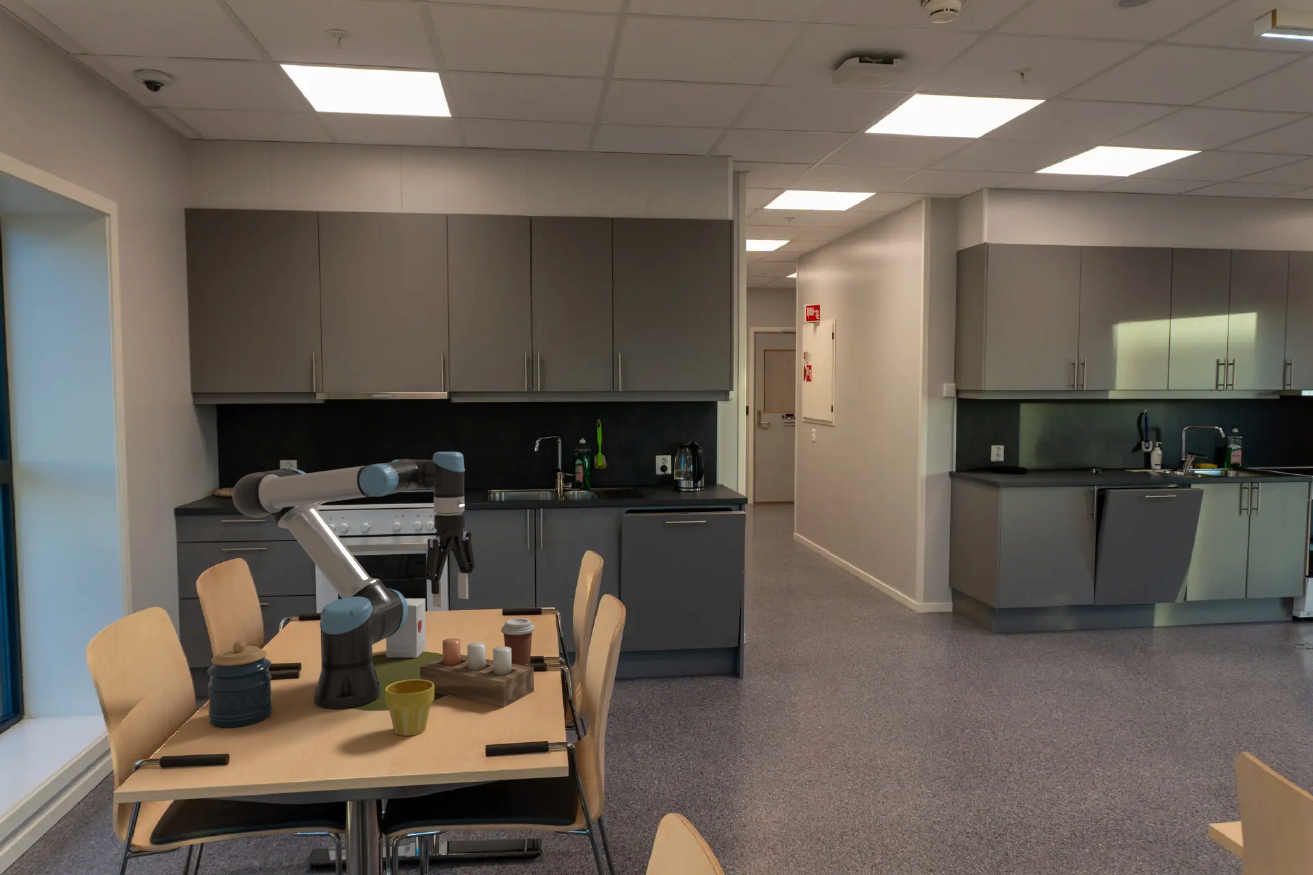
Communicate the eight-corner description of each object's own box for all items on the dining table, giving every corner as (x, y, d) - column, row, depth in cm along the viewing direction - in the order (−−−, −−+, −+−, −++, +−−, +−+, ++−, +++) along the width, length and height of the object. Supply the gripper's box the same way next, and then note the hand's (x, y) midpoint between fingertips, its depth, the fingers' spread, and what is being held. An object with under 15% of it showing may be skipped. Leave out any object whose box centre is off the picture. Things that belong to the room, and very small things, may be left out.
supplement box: (417, 658, 230) (416, 605, 229) (385, 658, 230) (384, 605, 229) (427, 648, 239) (426, 597, 238) (396, 648, 239) (395, 597, 238)
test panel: (503, 707, 192) (503, 681, 192) (420, 689, 204) (419, 666, 204) (533, 691, 203) (533, 667, 203) (452, 675, 215) (452, 652, 215)
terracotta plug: (452, 671, 204) (452, 644, 204) (439, 669, 206) (438, 641, 206) (464, 666, 208) (464, 639, 208) (451, 664, 210) (450, 637, 210)
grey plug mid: (477, 676, 200) (477, 648, 200) (463, 673, 202) (463, 646, 202) (489, 671, 204) (489, 643, 204) (475, 668, 206) (475, 641, 206)
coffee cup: (538, 659, 228) (538, 617, 227) (530, 670, 219) (529, 626, 218) (506, 658, 229) (506, 616, 228) (497, 669, 220) (496, 625, 219)
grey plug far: (504, 681, 197) (503, 652, 197) (489, 678, 199) (489, 650, 199) (515, 676, 201) (514, 647, 200) (500, 673, 203) (500, 645, 202)
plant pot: (416, 717, 186) (416, 675, 186) (444, 728, 180) (443, 684, 179) (376, 731, 178) (375, 687, 178) (403, 743, 172) (402, 698, 171)
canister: (274, 703, 195) (272, 630, 194) (270, 723, 183) (268, 645, 182) (213, 711, 190) (211, 636, 190) (204, 732, 178) (202, 652, 178)
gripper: (431, 519, 194) (432, 613, 195) (488, 509, 213) (489, 594, 214) (407, 517, 198) (409, 610, 199) (466, 507, 217) (467, 591, 218)
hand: (450, 602), depth 206 cm, fingers open, 9 cm apart
